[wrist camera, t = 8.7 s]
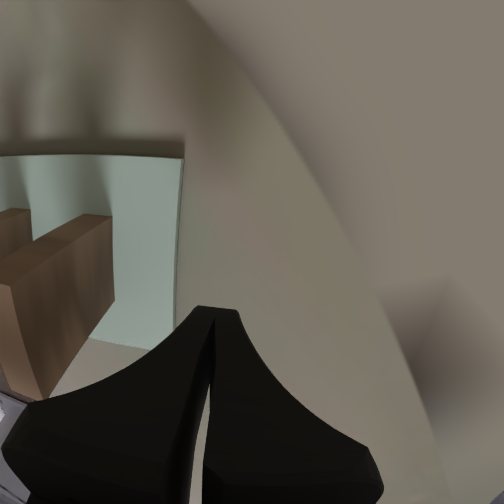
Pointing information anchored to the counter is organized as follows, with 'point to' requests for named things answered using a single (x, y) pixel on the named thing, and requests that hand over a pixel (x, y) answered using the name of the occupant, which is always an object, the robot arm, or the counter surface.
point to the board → (124, 227)
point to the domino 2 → (54, 301)
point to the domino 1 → (14, 230)
